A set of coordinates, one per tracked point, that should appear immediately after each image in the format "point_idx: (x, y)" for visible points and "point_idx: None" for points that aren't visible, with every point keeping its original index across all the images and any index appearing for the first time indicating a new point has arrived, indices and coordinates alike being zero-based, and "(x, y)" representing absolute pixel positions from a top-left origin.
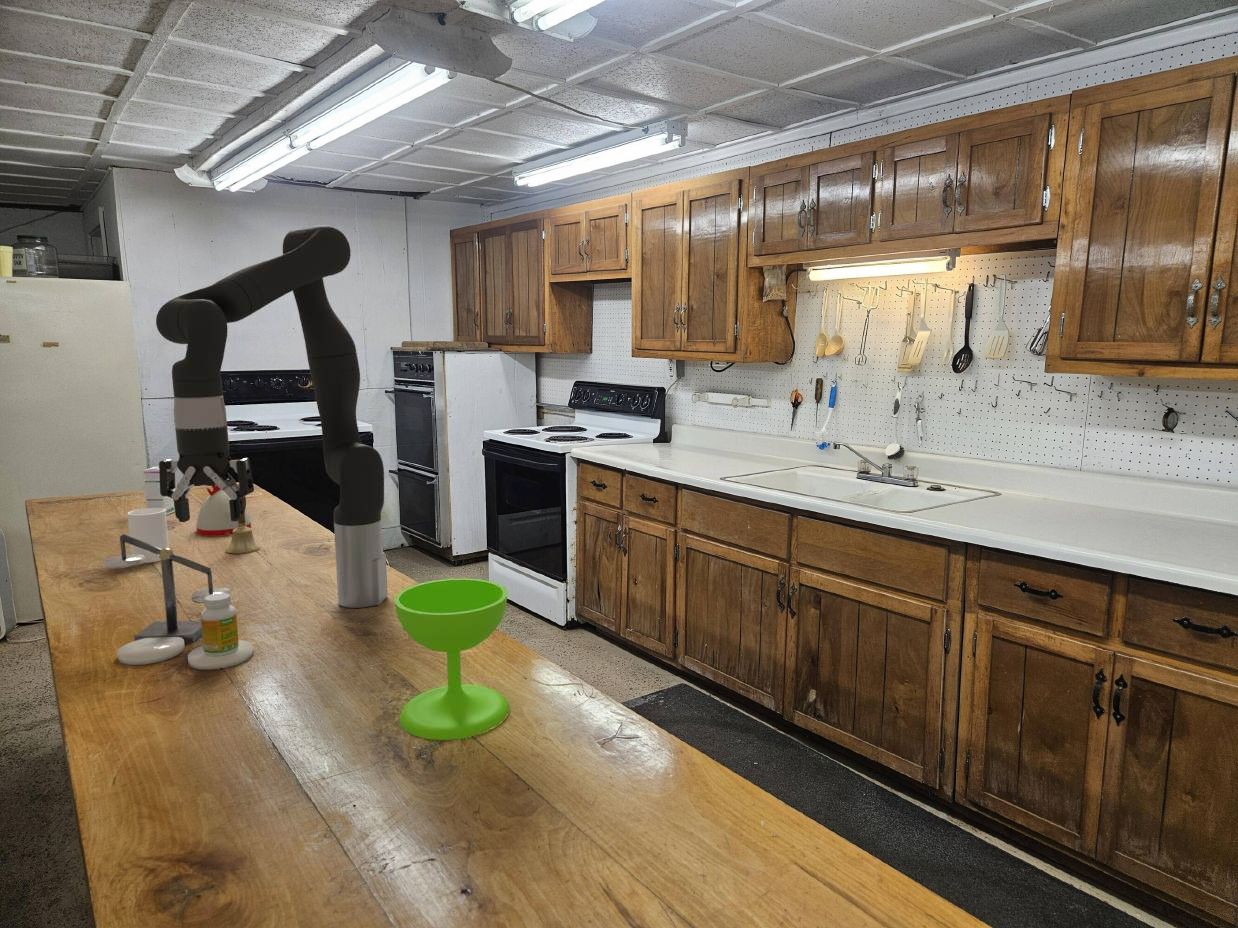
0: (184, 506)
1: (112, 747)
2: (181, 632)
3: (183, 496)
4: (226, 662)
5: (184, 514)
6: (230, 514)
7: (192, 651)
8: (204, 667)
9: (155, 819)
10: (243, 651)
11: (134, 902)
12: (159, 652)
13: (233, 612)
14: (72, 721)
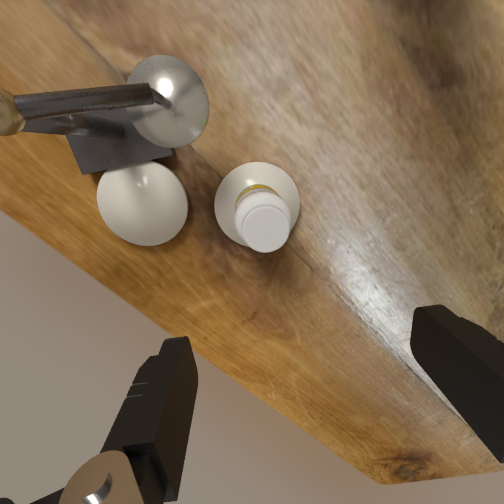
0: (179, 430)
1: (277, 385)
2: (146, 148)
3: (149, 496)
4: None
5: (189, 394)
6: (432, 380)
7: (217, 214)
8: None
9: (364, 438)
10: (290, 204)
11: (388, 478)
12: (172, 223)
13: (291, 220)
14: (206, 359)
